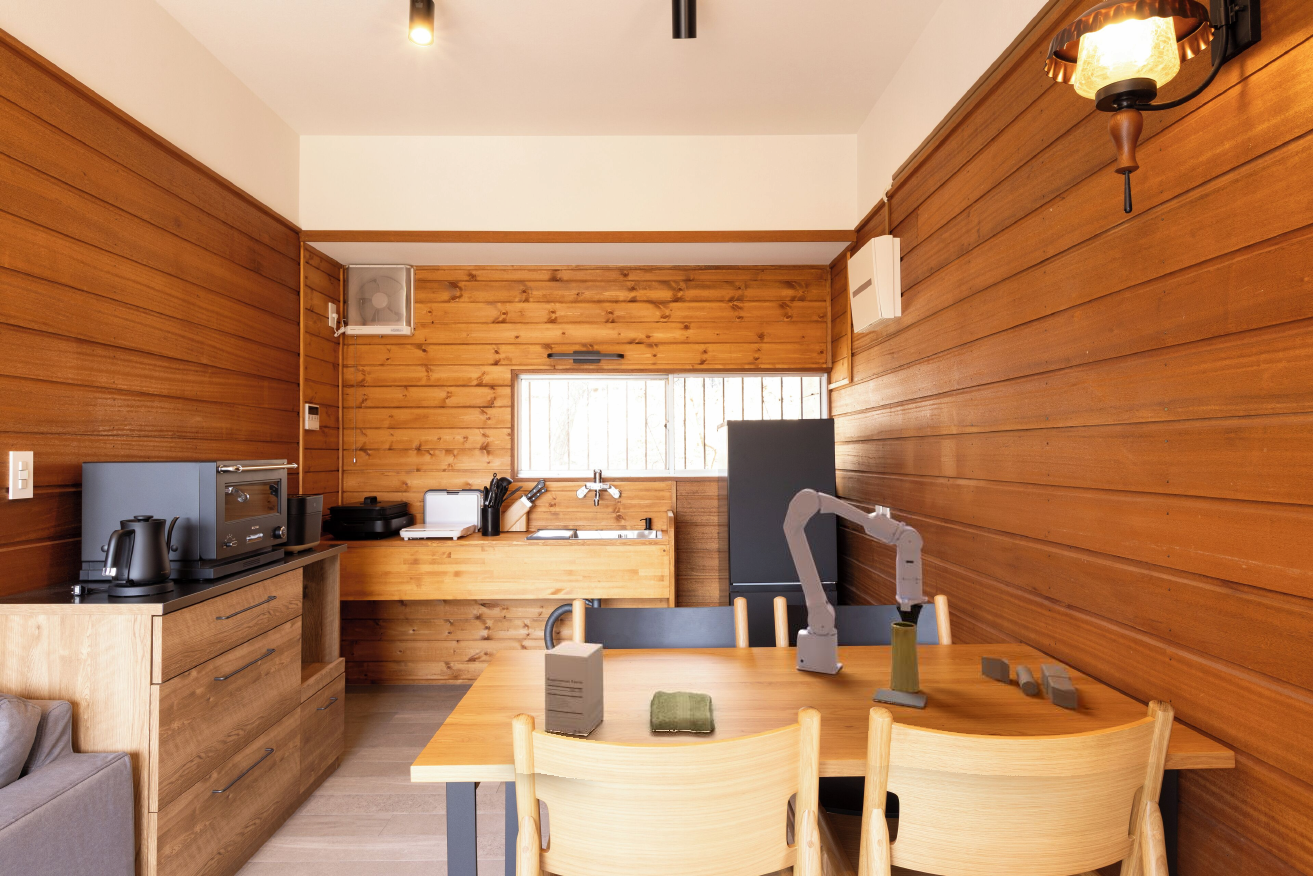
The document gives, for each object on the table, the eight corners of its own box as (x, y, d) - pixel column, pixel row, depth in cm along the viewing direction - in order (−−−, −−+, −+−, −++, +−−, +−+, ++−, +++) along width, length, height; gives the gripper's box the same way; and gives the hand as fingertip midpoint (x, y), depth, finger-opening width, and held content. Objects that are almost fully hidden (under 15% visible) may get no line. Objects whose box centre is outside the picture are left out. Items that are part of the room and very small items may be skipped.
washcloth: (712, 702, 141) (711, 687, 141) (715, 737, 124) (715, 719, 124) (651, 701, 142) (651, 686, 142) (646, 736, 124) (646, 718, 124)
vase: (922, 694, 144) (920, 628, 144) (892, 692, 145) (891, 627, 146) (916, 684, 150) (915, 621, 150) (888, 683, 151) (887, 620, 152)
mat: (872, 700, 140) (872, 698, 140) (878, 690, 146) (878, 688, 146) (923, 708, 135) (923, 706, 135) (926, 698, 142) (926, 695, 142)
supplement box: (563, 714, 134) (563, 640, 134) (604, 719, 131) (604, 643, 132) (543, 732, 125) (543, 652, 125) (586, 737, 122) (586, 656, 123)
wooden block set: (1063, 660, 151) (1078, 684, 134) (1063, 684, 151) (1078, 712, 134) (981, 651, 158) (985, 674, 141) (981, 675, 157) (986, 700, 141)
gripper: (923, 584, 149) (924, 645, 149) (930, 574, 162) (931, 630, 161) (890, 582, 152) (892, 641, 152) (899, 572, 165) (900, 627, 165)
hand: (910, 635), depth 157 cm, fingers closed
